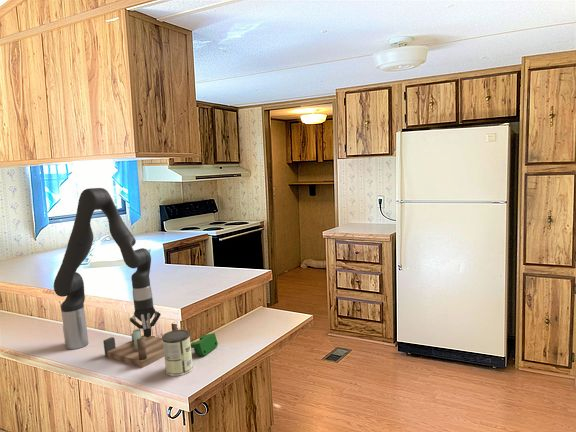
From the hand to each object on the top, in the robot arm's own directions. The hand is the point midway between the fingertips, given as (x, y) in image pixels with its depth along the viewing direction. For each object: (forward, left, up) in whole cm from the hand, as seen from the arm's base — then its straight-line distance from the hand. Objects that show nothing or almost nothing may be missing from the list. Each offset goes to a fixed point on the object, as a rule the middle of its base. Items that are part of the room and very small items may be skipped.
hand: (147, 336), depth 187 cm
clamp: (+20, +11, -8) cm, 25 cm away
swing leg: (-7, -1, -4) cm, 8 cm away
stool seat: (-2, 0, -7) cm, 7 cm away
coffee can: (+24, -6, -7) cm, 26 cm away
